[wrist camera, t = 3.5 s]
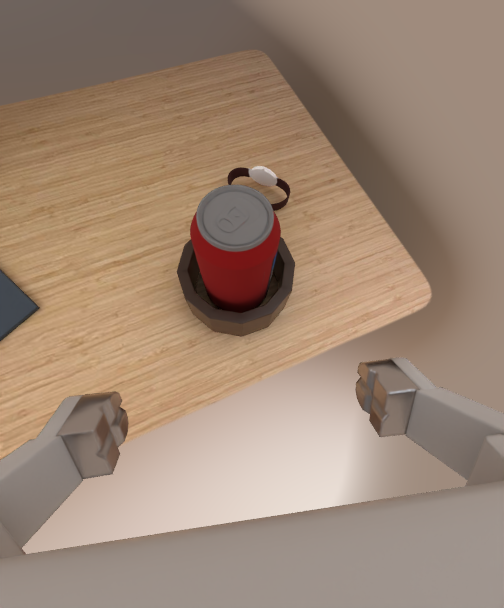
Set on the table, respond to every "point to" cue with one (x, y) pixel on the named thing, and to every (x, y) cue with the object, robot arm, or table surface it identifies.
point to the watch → (262, 180)
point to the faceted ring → (228, 319)
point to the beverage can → (235, 246)
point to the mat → (13, 306)
